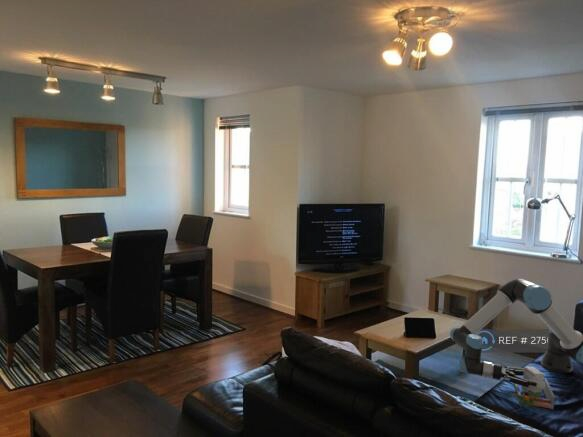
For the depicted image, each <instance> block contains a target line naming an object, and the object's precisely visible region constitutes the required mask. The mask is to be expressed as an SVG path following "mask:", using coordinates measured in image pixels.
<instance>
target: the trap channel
mask: <svg viewBox="0 0 583 437" xmlns="http://www.w3.org/2000/svg"><path fill="white" fill-rule="evenodd" d="M543 382H544V383H545V387H544V389H543V388H542V393H543V394H544V396H545V398H542V397H536V398H537V400H538V402H537V401H535V404H534V405H535V406H534V407H537V408H539V407H540V408H544V409H550V410H554V406H555V401H556V400H555V399H556V396H555V394H554V392H553V389H552V387H551V386H550V383H549V380H548V379H547V378H544V380H543ZM513 386H514V389H515V392H517V393H516V395H519V394H521V390H520V388H519V385H518V384H514V383H513ZM521 395H522V394H521ZM525 396H528V397H529V395H528V394H527V395H526V394H525ZM529 398H530V399H531V400H532V399H533V398H534V397H533V398H532V396H530V397H529ZM517 400H518V402H520V399H519V398H517Z"/></svg>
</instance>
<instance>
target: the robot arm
mask: <svg viewBox="0 0 583 437" xmlns="http://www.w3.org/2000/svg"><path fill="white" fill-rule="evenodd" d="M515 302H519V303H521V304H523V305H524V306H525V307H526V308H527V309H528V310H529V311H530V313H532V314H534V315H537V316H538V317H539V318H540V320H542V321H543V323H545V325H546V326H547V327H548V328H549V330H548V334H547V335H548V336H547V341H546V342H547V343H546V351H545V353H544V354H543V357H542V358H541V361H540V364H541V366H542V367H544V368H545V369H547V370H549V371H553V372H556V373H560V374H569V373H572V372H573V368H574V367H573V362H572V359H574V360H576V361H577V362H579V363H582V364H583V333H581V332H580V331H578V330H575V328H573V327H572V326H571V324H570V323H569V322H568V321H567V320H566V318H565V317H563V315H562V314H561V313H560V312H559V311H558V309H557V308H556V307H555V306H554V304H553V299H552V294H551V293H550V291H549V290H548V289H547V288H545V287H544V286H543V285H540V284H537V283H534V282H532V281H529V280H527V279H524V278H515V279H513V280H510V281H508V282H507V283H505V284H503V285H502V286H501V287H500V288H499V289H498V290H497V291H496V294H495V295H494V296H493V297H492V298H491V299H490V300H488V302H487V303H485V305H483V306H482V307H481V308H480V309H479V310H477V312H476V313H474V315H472V316H471V317H470V318H469V319H468V320H467V321H465V323H463V324H462V326H460V327H457V326H456V327H453V328H452V329H451V330H450V332H449V337H450V338H451V340H452V341H453V342H454V343H455V344H457V345H458V346H460V347H461V348H462V349H463V350H464V356H461V357H460V359H459V367H458V369H459V371H460V372H461V373H465V374H467V375H474V376H479V377H484V378H485V379H486V378H489V379H491V378H492V379H493V380H496V381H497V380H498V381H501V379H502V378H503V379H504V382H508V383H512V384H513V385H514V384H518V386H521V387H522V386H524V387H529V386H534V387H538V388H542V390H543V389H544V387H545V383H544V381H543V382H540V381H535V380H530V379H529V380H527V379H524V378H523V374H524V367H516V366H515V367H514V366H509V365H504V367H503V366H502V364H501V363H497V362H496V363H495V362H494V363H493V362H492V361H487V360H481V358H482V350H483V338H482V336H481V335H478V333H479V332H480V331H481V330H482V329H483V328H485V327H486V326H487V325H488V324H489V323H490V322H491V321H492V320H494V319H495V317H497V316H498V315H499V314H500V313H501V312H502V311H503V310H505V308H506V307H508V306H510V305H514V304H515Z"/></svg>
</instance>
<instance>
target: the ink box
mask: <svg viewBox="0 0 583 437" xmlns="http://www.w3.org/2000/svg"><path fill="white" fill-rule="evenodd" d="M523 368H524V374H523V376H522V378H524V379H527V380H529V379H530V380H535V381H540V382H544V379H545V373H543V372H542V371H541V370H538V369H537V368H536V367H534V366H524V367H523ZM521 390H522V391H523V390H524V393H526V394H527V395H528V396H529V395H530V396H531V395H533V396H534V397H537V398H542V394H543V388H538V387H534V386H529V387H524V386H521Z"/></svg>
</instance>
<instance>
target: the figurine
mask: <svg viewBox="0 0 583 437" xmlns="http://www.w3.org/2000/svg"><path fill="white" fill-rule="evenodd" d="M522 392H523V393H522V394H519V395H517V394H515V393H509V395H510V396H513V397H515V398H517V399H518V398H519V399H520V403H519V408H521V409H523V408H524V405H526V408H527V409H528V410H529V411H531V408H530V407H531V406H533V405H534V404H535V401H537V402H538V400H537V398H538V397H537V398H536V397H534V396H533V395H531V396H532V398H533V397H534V398H533V399H532V400H531V399H530V398H529V397H530V395H529V394H528V395H527V396H525V395H526V394H525V393H526V392H525V391H524V390H522ZM528 396H529V397H528ZM519 399H518V400H519ZM534 407H536V406H535V405H534Z"/></svg>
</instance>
